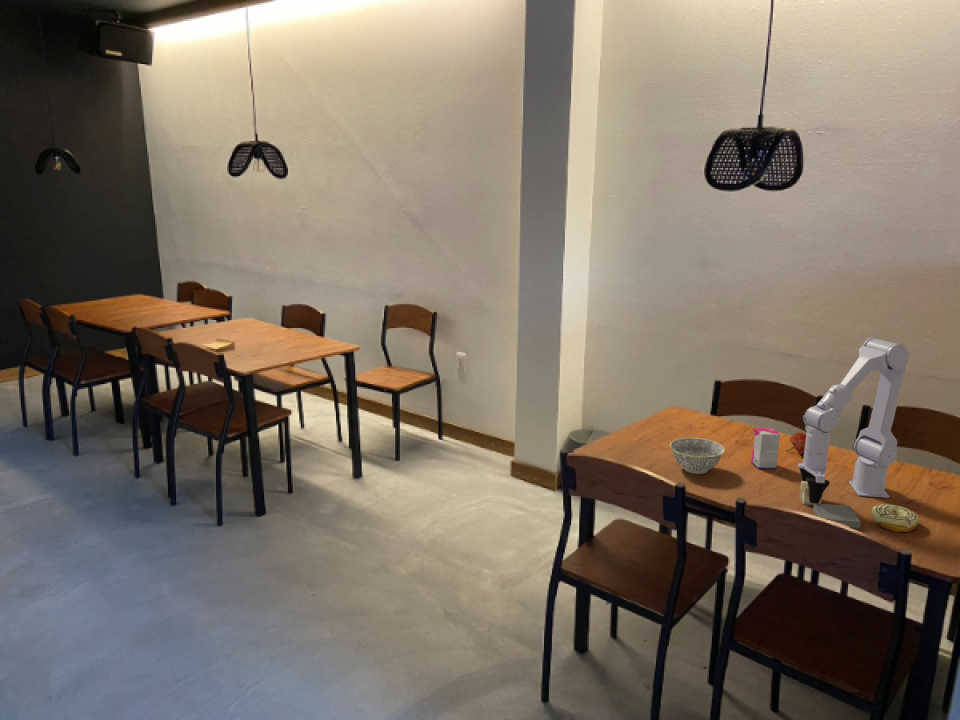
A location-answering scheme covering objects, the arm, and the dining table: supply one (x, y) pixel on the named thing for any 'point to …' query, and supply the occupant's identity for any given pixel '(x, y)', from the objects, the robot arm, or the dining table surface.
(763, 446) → the supplement box
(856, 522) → the slate base
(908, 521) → the decorated donut
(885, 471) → the robot arm
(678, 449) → the bowl
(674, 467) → the dining table surface
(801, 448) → the red stemmed fruit
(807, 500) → the birch block
